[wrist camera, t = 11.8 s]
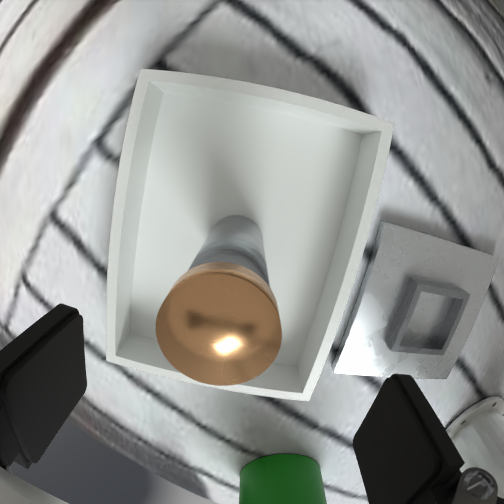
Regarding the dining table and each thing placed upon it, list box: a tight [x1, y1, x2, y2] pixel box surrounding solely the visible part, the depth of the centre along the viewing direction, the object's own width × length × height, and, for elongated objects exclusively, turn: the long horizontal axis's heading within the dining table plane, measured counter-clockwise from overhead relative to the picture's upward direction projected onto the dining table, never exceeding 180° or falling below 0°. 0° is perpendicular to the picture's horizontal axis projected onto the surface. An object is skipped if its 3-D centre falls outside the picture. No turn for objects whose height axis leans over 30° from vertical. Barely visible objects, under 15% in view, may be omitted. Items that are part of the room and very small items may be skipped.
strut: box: [156, 215, 282, 386], centre depth 17 cm, size 4×4×14 cm
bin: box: [106, 69, 394, 401], centre depth 22 cm, size 22×17×4 cm
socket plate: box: [331, 221, 499, 379], centre depth 25 cm, size 14×14×2 cm
